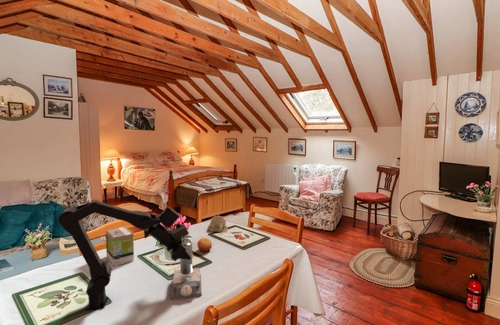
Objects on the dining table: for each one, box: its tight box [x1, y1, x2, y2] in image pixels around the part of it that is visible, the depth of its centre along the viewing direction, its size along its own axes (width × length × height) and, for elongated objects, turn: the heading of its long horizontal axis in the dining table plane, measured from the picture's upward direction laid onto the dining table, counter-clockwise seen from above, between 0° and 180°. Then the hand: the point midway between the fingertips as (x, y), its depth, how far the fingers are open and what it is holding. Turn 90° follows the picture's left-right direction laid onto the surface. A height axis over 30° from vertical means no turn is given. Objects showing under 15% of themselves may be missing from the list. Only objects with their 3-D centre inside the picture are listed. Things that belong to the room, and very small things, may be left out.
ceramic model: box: [207, 214, 229, 233], centre depth 187 cm, size 14×11×10 cm
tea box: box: [105, 226, 135, 267], centre depth 140 cm, size 15×10×15 cm, turn 41°
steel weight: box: [179, 240, 193, 275], centre depth 115 cm, size 5×5×12 cm
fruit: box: [197, 237, 213, 253], centre depth 152 cm, size 8×8×8 cm
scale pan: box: [172, 267, 201, 289], centre depth 116 cm, size 11×11×2 cm
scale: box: [170, 273, 202, 300], centre depth 114 cm, size 15×12×5 cm
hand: (189, 256), depth 116 cm, fingers closed on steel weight, 5 cm apart
